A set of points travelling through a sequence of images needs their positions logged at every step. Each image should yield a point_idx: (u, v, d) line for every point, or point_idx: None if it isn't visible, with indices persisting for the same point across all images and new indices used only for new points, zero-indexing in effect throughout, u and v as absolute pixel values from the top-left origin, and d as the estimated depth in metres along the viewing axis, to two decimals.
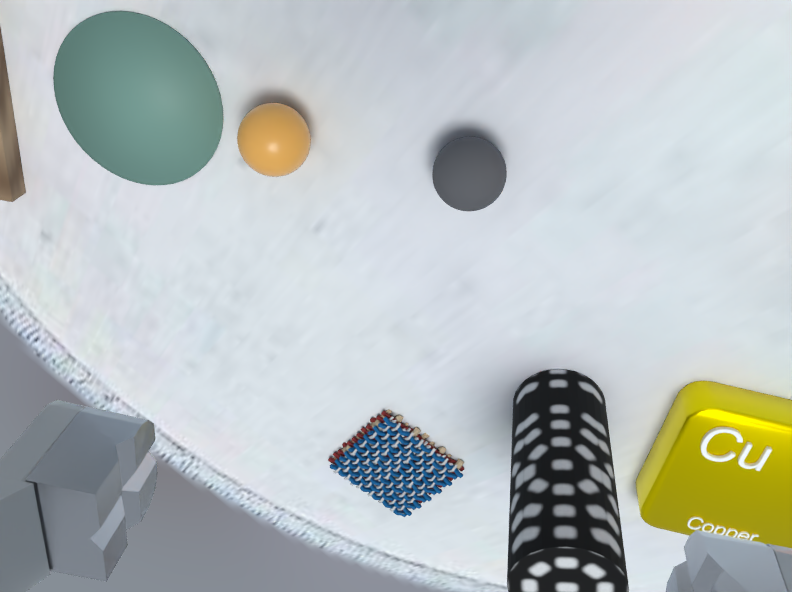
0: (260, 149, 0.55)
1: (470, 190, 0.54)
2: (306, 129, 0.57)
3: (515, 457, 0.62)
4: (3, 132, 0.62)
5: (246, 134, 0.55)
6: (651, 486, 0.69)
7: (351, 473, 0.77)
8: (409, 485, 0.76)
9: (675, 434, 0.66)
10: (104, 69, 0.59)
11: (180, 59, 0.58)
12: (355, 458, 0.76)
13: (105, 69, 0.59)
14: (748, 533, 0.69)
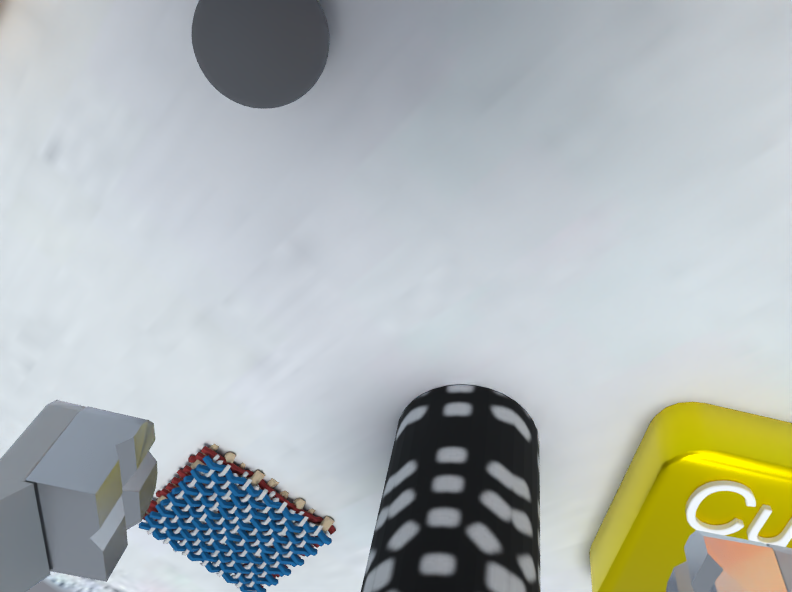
0: None
1: (247, 60, 0.29)
2: None
3: (374, 538, 0.37)
4: None
5: None
6: (608, 567, 0.43)
7: (170, 535, 0.51)
8: (256, 553, 0.51)
9: (645, 489, 0.40)
10: None
11: None
12: (173, 514, 0.51)
13: None
14: None
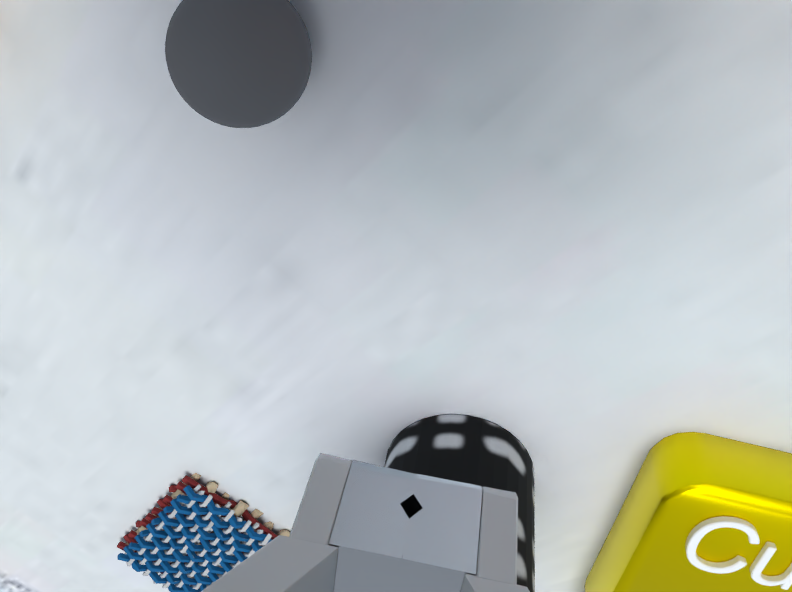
0: None
1: (223, 78, 0.27)
2: None
3: None
4: None
5: None
6: None
7: (150, 567, 0.49)
8: None
9: (643, 524, 0.38)
10: None
11: None
12: (153, 545, 0.49)
13: None
14: None
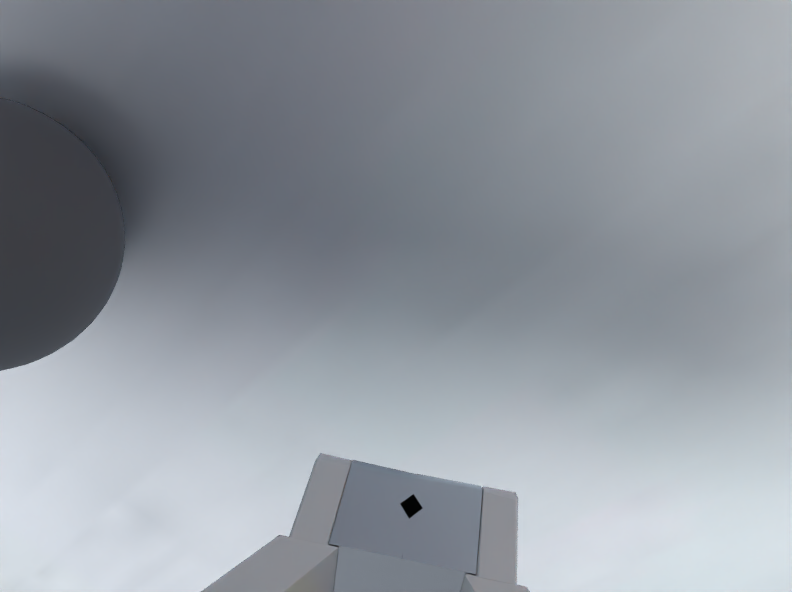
0: None
1: None
2: None
3: None
4: None
5: None
6: None
7: None
8: None
9: None
10: None
11: None
12: None
13: None
14: None
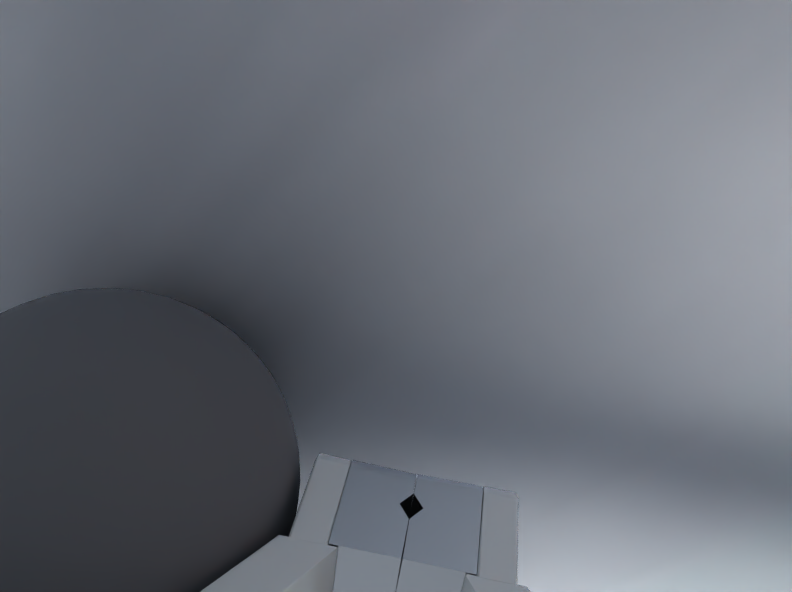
0: None
1: None
2: None
3: None
4: None
5: None
6: None
7: None
8: None
9: None
10: None
11: None
12: None
13: None
14: None
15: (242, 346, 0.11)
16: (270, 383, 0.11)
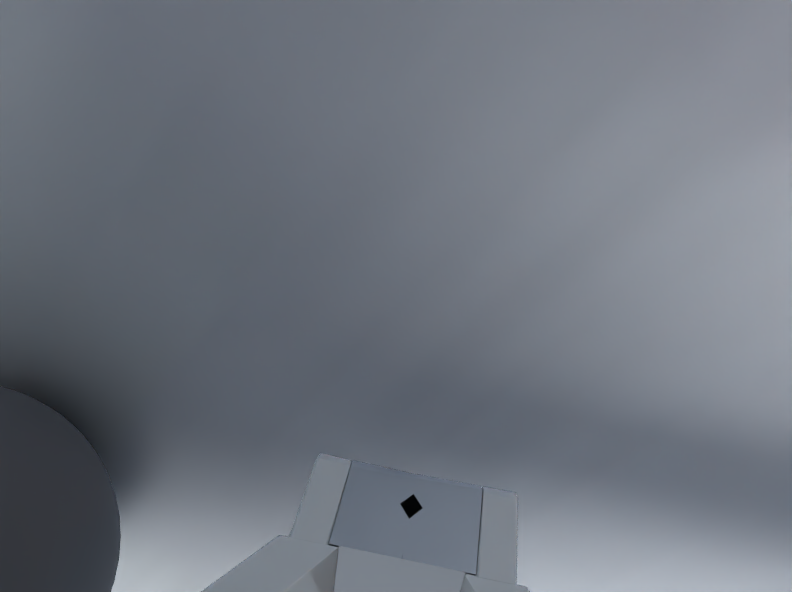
0: None
1: None
2: None
3: None
4: None
5: None
6: None
7: None
8: None
9: None
10: None
11: None
12: None
13: None
14: None
15: None
16: None
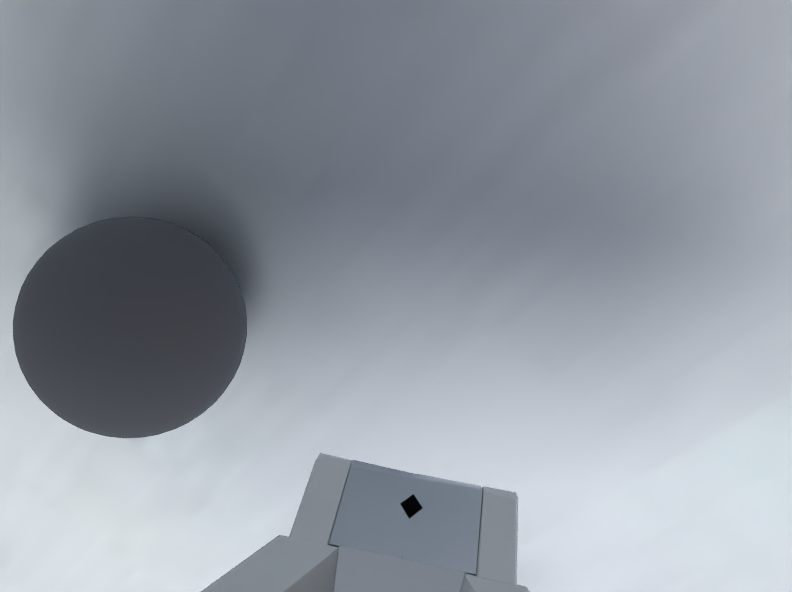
0: None
1: None
2: None
3: None
4: None
5: None
6: None
7: None
8: None
9: None
10: None
11: None
12: None
13: None
14: None
15: (34, 341, 0.17)
16: (21, 346, 0.17)
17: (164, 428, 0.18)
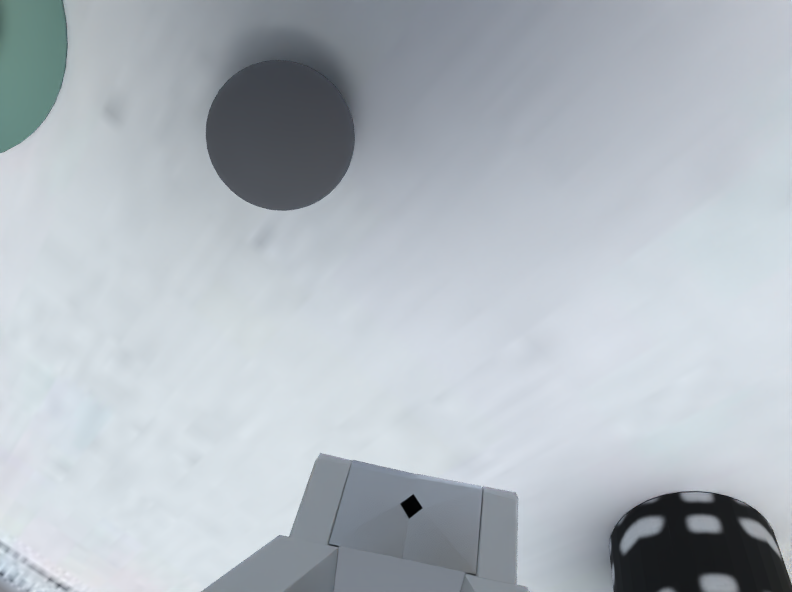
0: None
1: None
2: None
3: None
4: None
5: None
6: None
7: None
8: None
9: None
10: None
11: None
12: None
13: None
14: None
15: (229, 131, 0.26)
16: (217, 137, 0.27)
17: (305, 198, 0.28)
